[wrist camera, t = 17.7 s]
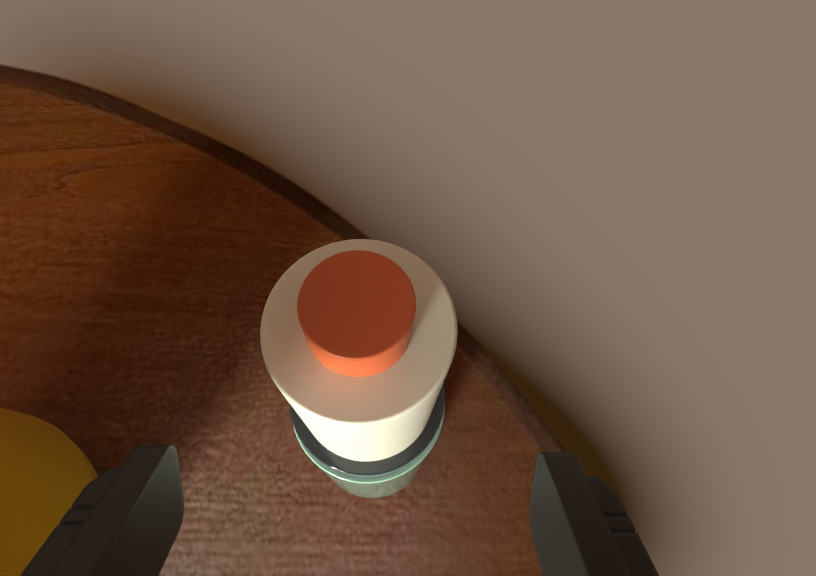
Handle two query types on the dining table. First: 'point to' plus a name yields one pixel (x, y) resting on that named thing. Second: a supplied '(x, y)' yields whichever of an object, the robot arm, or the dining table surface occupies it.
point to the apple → (35, 485)
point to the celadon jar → (373, 475)
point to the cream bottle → (360, 345)
